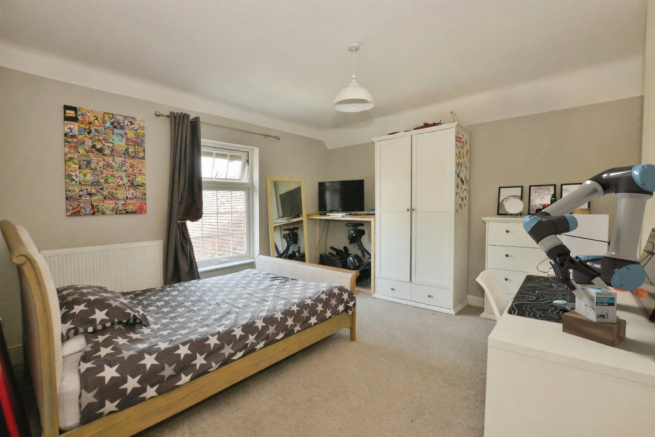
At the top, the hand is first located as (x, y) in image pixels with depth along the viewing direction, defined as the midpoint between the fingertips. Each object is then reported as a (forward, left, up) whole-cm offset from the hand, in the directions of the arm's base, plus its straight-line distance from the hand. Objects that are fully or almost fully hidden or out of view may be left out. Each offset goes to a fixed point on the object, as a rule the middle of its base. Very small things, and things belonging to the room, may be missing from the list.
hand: (596, 296), depth 107 cm
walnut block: (0, -1, -15) cm, 15 cm away
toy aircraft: (-18, -17, -15) cm, 29 cm away
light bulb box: (0, 0, -8) cm, 8 cm away
